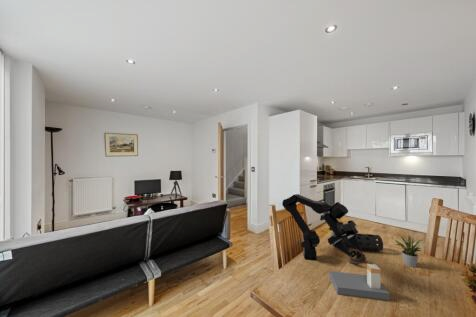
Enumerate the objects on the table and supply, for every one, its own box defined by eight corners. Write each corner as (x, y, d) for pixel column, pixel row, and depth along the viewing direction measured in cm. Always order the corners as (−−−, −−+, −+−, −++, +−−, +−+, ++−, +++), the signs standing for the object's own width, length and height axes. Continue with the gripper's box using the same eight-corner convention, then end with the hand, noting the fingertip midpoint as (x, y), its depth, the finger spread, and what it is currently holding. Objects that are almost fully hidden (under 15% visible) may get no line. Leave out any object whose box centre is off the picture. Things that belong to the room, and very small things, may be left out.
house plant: (414, 258, 110) (414, 230, 110) (437, 272, 96) (437, 241, 97) (388, 257, 112) (388, 229, 112) (407, 270, 98) (407, 239, 98)
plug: (371, 293, 80) (371, 268, 80) (366, 288, 84) (366, 263, 84) (380, 295, 79) (380, 269, 80) (375, 289, 83) (375, 264, 83)
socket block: (337, 294, 81) (337, 287, 81) (329, 276, 92) (329, 270, 92) (389, 300, 77) (389, 293, 77) (373, 281, 89) (373, 275, 89)
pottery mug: (372, 267, 102) (369, 256, 100) (357, 274, 102) (353, 264, 100) (356, 251, 114) (353, 241, 111) (342, 258, 114) (339, 248, 111)
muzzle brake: (383, 254, 115) (383, 238, 115) (334, 250, 120) (334, 234, 120) (375, 247, 124) (375, 232, 124) (330, 243, 130) (330, 229, 130)
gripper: (333, 218, 89) (357, 250, 79) (354, 212, 98) (378, 241, 88) (318, 229, 95) (340, 261, 86) (340, 223, 105) (361, 251, 95)
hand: (355, 253), depth 89 cm, fingers open, 9 cm apart
